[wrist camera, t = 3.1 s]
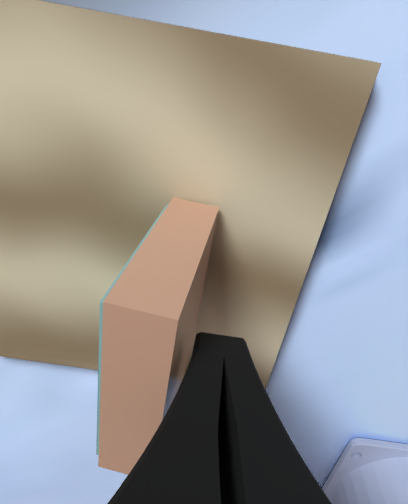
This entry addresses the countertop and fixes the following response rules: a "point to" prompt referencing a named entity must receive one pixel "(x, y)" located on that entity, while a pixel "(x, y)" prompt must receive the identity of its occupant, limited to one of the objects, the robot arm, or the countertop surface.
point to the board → (160, 168)
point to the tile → (150, 330)
